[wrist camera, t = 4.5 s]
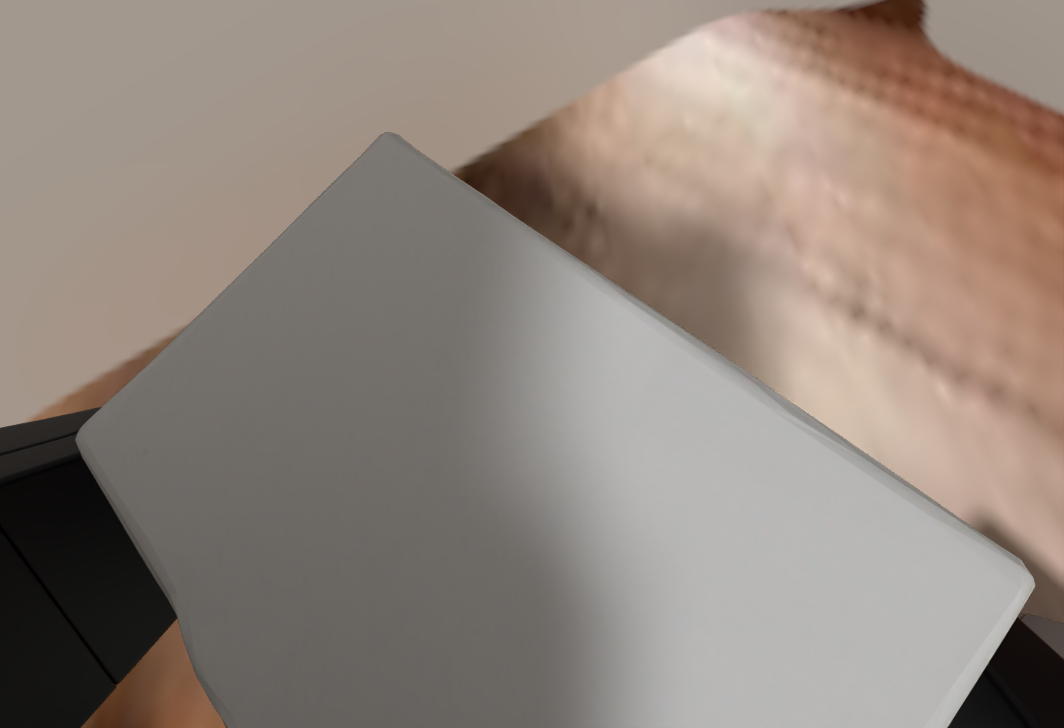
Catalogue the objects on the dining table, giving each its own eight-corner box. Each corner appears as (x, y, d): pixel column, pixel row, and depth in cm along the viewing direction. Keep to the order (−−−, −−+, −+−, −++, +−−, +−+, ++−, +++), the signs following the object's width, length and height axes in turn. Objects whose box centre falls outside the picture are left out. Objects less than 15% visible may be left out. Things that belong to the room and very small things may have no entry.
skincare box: (708, 524, 14) (1116, 602, 2) (614, 640, 13) (576, 1400, 2) (554, 394, 16) (383, 104, 4) (468, 492, 15) (33, 449, 4)
